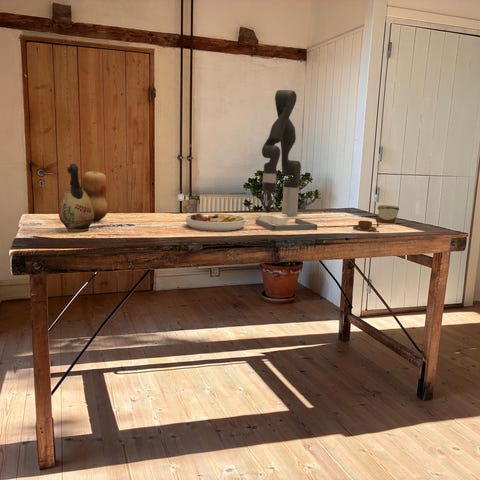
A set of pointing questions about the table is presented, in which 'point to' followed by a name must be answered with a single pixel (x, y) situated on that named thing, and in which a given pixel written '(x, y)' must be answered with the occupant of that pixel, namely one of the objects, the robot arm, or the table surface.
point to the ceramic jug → (76, 205)
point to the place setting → (367, 225)
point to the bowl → (215, 222)
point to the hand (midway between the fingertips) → (267, 212)
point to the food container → (387, 214)
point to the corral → (302, 225)
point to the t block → (274, 218)
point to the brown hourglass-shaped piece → (96, 192)
